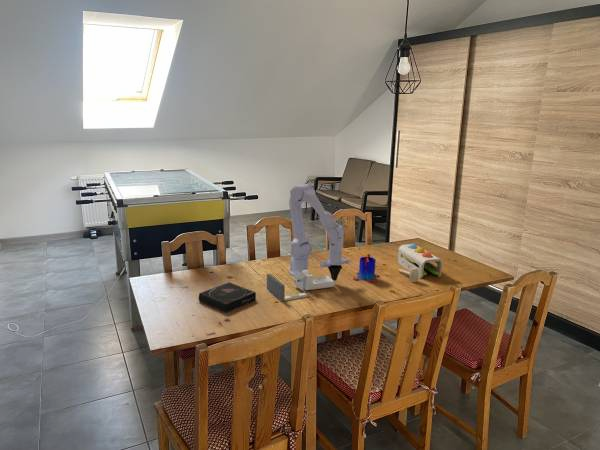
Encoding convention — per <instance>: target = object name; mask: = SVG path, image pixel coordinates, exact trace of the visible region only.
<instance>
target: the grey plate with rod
mask: <svg viewBox="0 0 600 450" xmlns="http://www.w3.org/2000/svg"><path fill="white" fill-rule="evenodd" d="M285 288H286V286H285V284H284V283H282V282H281V281H280V280H279V279H277V278H276V277H275V276H273V274H271V273H266V289H267V291H269V293H271V294H272V295H273V296H274V297H276V298H277V300H279V301H280V302H286V301H291V300H292V301H293V300H296V299H300V298H307V297H309V292H308V291H307V292H308V293H307V292H302V293H301V292H300V293H295V294H290V295H286V296H285V293H286V291H285Z"/></svg>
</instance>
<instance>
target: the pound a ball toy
mask: <svg viewBox="0 0 600 450" xmlns="http://www.w3.org/2000/svg"><path fill="white" fill-rule="evenodd" d="M403 256H404V257H403ZM397 262H398V264H400V266H402V267H403V268H405V269H406V270H404V269H402V268H398V270H397V271H398V273H402V274H404V275H406V276H407V275H408V276H409V280H410V282H411V283H416V284H417V282H418V280H419V278H420V279H422V278H424V276H427V272H426V270H427V271H428V272H429V273H431V274H433V275H435V276H437V277H441V275H442V272H443V271H442V270H443V260H442V259H441V258H440V257H437V256H436V255H434V254H432V253H430V252H429V251H427V250H426V249H424V248H423V247H420V246H419V245H417V244H415V243H410V244H409V243H408V244H401V245H400V246H399V247H398V250H397ZM433 262H434V263H436V265H435V264H433Z"/></svg>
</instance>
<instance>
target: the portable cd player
mask: <svg viewBox="0 0 600 450" xmlns="http://www.w3.org/2000/svg"><path fill="white" fill-rule="evenodd" d="M256 293H257V292H255V291H253V290H251V289H247V288H245V287H243V286H240V285H238V284H234V283H232V282H226V283H224V284H221V285H218V286H216V287H213V288H209V289H208V290H204V291H202V292H199V294H198V302H200V303H202V304H205V305H207V306H210V307H212V308H214V309H216V310H219V311H221V312H224V313H225V314H227V313H229V312H231V311H234V310H236V309H239V308H241V307H243V306H246V305H247V304H250V303H253V302H255V301H256V300H257V298H256V296H257V295H256Z"/></svg>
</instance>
